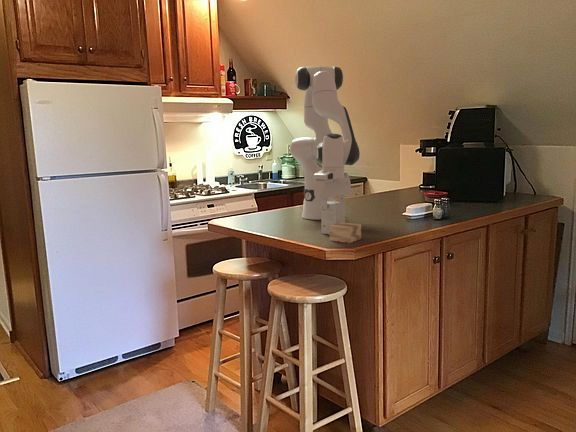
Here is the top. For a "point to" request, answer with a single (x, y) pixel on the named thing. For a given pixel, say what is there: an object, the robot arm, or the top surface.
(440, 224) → the top surface
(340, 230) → the maple block
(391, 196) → the top surface
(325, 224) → the small box
